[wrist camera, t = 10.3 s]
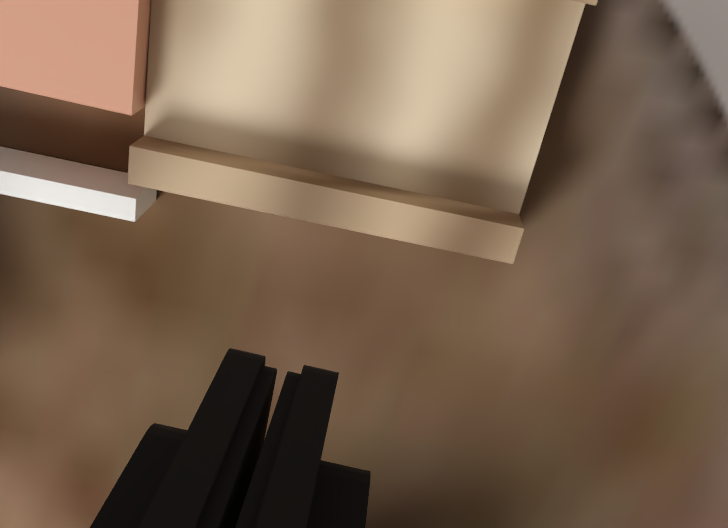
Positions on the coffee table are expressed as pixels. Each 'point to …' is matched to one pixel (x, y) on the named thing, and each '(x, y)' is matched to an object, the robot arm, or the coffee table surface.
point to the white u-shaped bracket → (72, 185)
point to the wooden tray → (357, 111)
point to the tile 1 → (77, 50)
